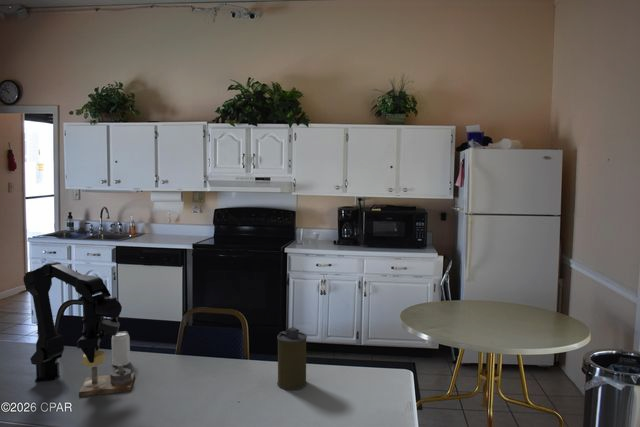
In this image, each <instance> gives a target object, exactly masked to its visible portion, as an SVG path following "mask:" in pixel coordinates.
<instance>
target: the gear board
mask: <svg viewBox="0 0 640 427" xmlns="http://www.w3.org/2000/svg"><path fill="white" fill-rule="evenodd" d="M135 375H136V373H135V372H132V369H130V368H124V366H123V364H120V365H118V366H117V368H116V369H114V370H113V371H111V372H110V374H106V375H105V374H104V375H98V367H97V366H91V376H87V377H85V380H84V381H83V384H82V386H80V389H79V391H78V397H86V396H87V397H88V396H95V394H97V395H103V394H104V393H106V394H113V393H114V392H116V393H123V392H124V393H125V392H131V390H132V388H133V384H134V380H135ZM114 394H115V393H114Z"/></svg>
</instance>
